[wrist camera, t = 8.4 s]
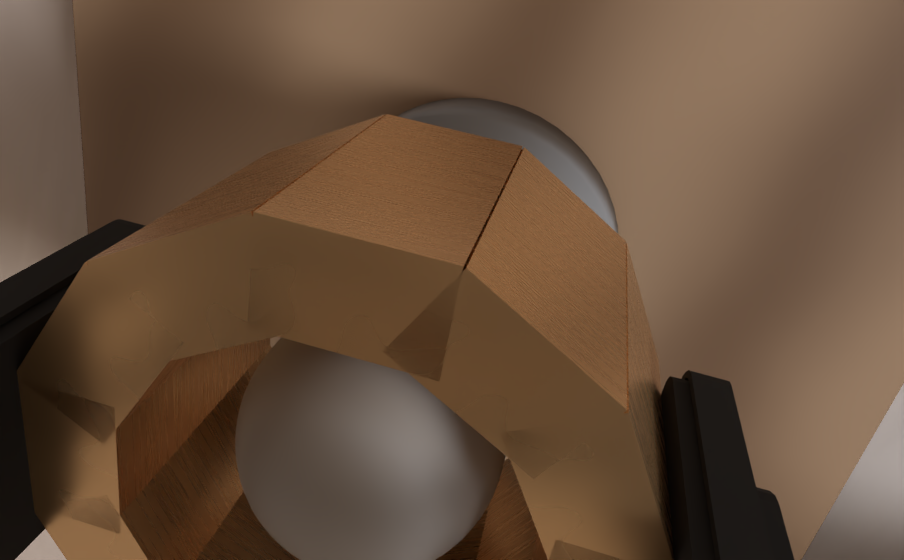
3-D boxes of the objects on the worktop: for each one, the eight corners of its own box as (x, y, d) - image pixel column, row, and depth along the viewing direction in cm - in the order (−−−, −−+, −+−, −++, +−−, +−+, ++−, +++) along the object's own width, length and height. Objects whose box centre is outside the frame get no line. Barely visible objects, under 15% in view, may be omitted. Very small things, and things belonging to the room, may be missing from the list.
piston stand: (1084, -32, 12) (2228, 47, 3) (768, 550, 18) (889, 1081, 10) (109, -218, 14) (-697, -459, 5) (132, 364, 20) (-222, 670, 12)
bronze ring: (721, 193, 9) (781, 348, 6) (578, 573, 13) (560, 822, 9) (208, 71, 10) (-17, 142, 7) (200, 458, 13) (48, 645, 10)
